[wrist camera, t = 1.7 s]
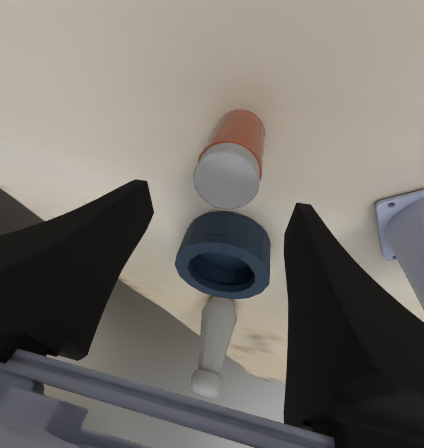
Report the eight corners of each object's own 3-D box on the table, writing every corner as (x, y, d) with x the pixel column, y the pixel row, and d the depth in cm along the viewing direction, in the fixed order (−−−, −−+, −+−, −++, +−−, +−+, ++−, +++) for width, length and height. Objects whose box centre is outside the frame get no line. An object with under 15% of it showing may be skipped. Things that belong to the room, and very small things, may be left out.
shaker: (252, 98, 15) (241, 135, 10) (272, 148, 17) (271, 199, 12) (206, 125, 17) (177, 167, 12) (228, 167, 19) (213, 217, 14)
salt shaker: (199, 299, 38) (176, 388, 29) (216, 288, 34) (194, 386, 25) (226, 312, 39) (212, 401, 30) (245, 303, 35) (235, 402, 26)
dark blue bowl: (248, 199, 21) (243, 231, 18) (282, 261, 26) (283, 295, 23) (171, 224, 26) (156, 253, 23) (213, 272, 31) (206, 301, 28)
